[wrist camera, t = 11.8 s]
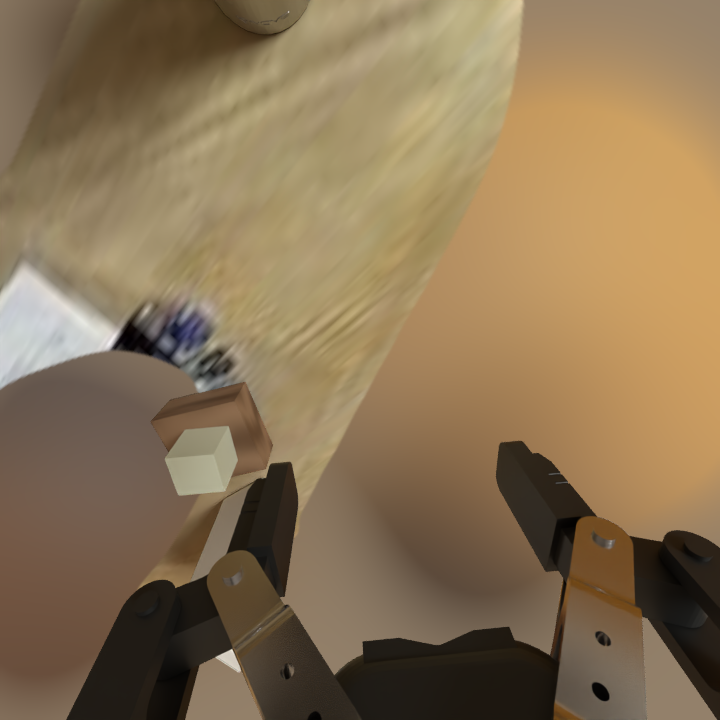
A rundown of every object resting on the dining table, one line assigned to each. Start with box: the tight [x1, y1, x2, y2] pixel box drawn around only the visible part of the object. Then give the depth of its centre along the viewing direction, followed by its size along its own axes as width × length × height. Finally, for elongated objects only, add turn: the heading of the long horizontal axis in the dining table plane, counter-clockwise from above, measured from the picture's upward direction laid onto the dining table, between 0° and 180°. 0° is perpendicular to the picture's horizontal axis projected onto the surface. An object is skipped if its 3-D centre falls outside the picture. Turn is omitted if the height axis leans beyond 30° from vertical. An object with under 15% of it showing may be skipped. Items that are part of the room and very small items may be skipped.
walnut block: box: [151, 382, 273, 477], centre depth 43 cm, size 10×10×5 cm
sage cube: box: [165, 426, 238, 495], centre depth 38 cm, size 5×5×5 cm
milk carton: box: [190, 478, 262, 673], centre depth 42 cm, size 7×7×19 cm
